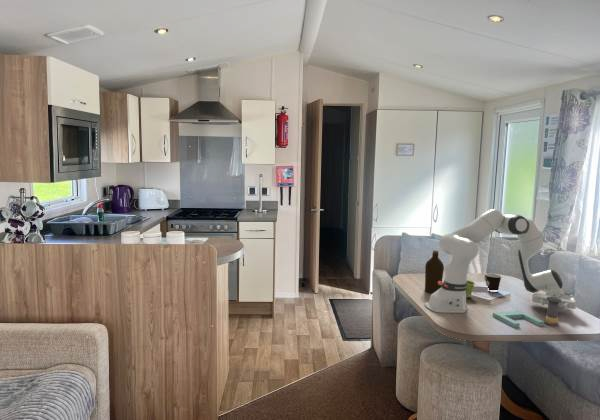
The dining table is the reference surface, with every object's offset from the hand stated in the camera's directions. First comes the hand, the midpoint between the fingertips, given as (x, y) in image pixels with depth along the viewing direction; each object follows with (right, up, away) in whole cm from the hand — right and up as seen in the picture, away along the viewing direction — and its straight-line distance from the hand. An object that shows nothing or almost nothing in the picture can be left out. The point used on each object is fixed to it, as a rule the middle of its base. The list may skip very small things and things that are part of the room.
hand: (553, 304), depth 236 cm
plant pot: (-33, -2, +33) cm, 47 cm away
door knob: (-5, -8, -8) cm, 12 cm away
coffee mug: (-12, -1, +47) cm, 48 cm away
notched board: (-21, -7, -5) cm, 22 cm away
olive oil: (-50, -1, +41) cm, 65 cm away
